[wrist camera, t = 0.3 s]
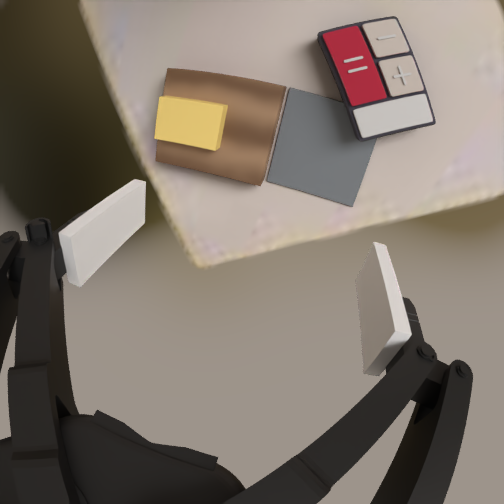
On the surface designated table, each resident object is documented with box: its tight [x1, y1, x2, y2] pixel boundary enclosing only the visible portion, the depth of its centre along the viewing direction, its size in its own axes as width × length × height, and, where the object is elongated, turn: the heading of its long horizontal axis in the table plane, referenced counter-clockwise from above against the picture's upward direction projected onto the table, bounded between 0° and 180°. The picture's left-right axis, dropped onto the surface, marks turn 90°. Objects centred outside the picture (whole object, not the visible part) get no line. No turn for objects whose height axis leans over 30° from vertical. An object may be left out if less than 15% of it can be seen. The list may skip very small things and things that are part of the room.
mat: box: [267, 88, 377, 207], centre depth 38 cm, size 14×13×1 cm
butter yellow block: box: [154, 96, 228, 151], centre depth 36 cm, size 6×9×2 cm, turn 78°
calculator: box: [318, 16, 435, 142], centre depth 30 cm, size 11×4×15 cm
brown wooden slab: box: [156, 68, 286, 186], centre depth 38 cm, size 14×16×3 cm
